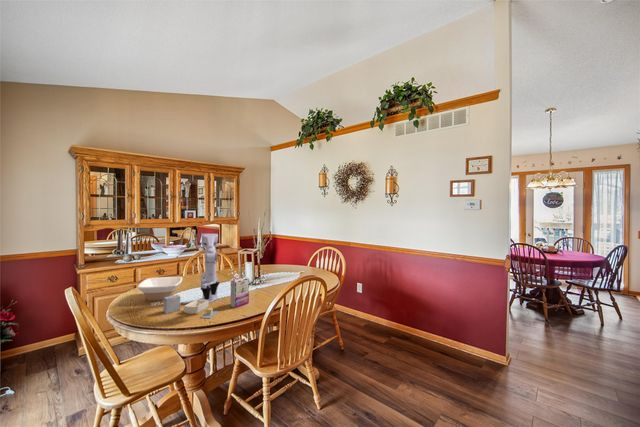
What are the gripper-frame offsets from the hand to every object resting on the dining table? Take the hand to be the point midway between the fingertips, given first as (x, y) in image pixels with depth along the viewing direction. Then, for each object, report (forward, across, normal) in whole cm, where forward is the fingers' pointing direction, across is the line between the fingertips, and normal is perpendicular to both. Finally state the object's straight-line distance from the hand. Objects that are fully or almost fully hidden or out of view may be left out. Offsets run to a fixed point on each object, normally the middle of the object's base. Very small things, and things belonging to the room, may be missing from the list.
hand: (210, 296), depth 159 cm
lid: (+10, +2, +1) cm, 10 cm away
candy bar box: (+10, -16, +11) cm, 22 cm away
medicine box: (+10, +1, -23) cm, 25 cm away
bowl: (+10, -20, -45) cm, 50 cm away
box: (+10, -4, -10) cm, 15 cm away
